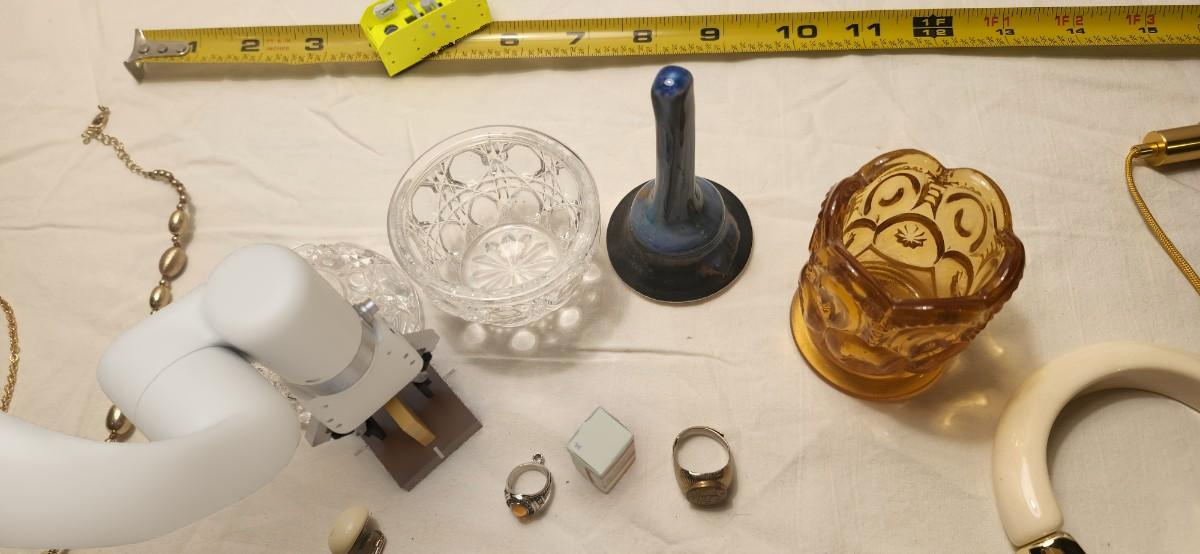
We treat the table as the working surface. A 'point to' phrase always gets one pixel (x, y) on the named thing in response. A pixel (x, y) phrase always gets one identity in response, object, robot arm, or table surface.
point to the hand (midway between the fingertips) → (399, 407)
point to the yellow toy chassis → (419, 27)
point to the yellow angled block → (409, 420)
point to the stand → (439, 415)
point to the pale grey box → (602, 449)
